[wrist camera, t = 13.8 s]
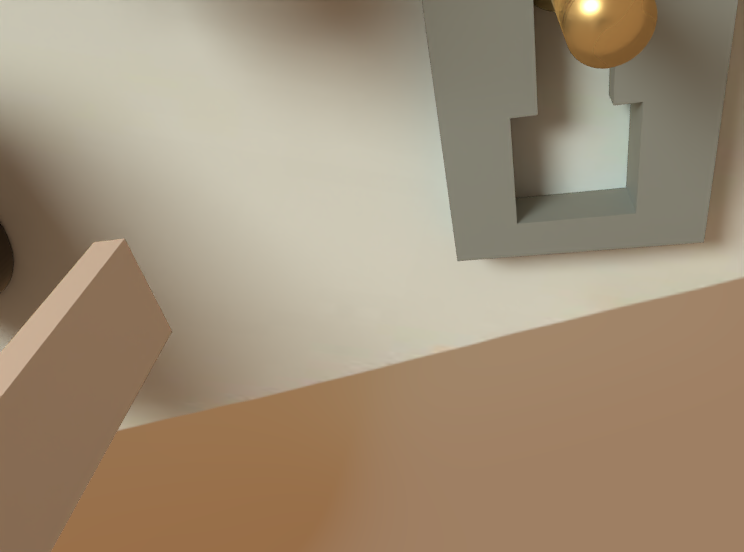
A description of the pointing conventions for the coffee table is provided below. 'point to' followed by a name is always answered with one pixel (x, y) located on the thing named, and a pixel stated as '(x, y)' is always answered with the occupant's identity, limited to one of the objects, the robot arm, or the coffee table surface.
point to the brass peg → (604, 28)
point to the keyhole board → (519, 99)
